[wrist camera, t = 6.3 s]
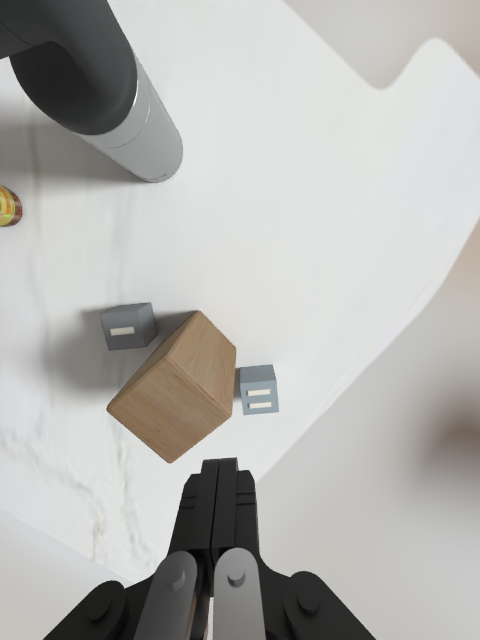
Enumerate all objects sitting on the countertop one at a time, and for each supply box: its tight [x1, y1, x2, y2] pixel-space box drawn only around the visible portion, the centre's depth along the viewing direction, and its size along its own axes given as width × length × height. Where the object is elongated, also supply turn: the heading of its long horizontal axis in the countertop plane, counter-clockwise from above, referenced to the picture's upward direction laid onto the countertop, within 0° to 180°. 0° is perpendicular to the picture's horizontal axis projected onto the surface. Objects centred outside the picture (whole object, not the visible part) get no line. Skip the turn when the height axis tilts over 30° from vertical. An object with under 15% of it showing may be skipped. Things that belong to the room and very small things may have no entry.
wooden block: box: [106, 310, 236, 463], centre depth 38 cm, size 10×10×20 cm
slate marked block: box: [240, 365, 279, 415], centre depth 46 cm, size 6×6×6 cm
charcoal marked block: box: [100, 302, 158, 351], centre depth 43 cm, size 6×6×6 cm
